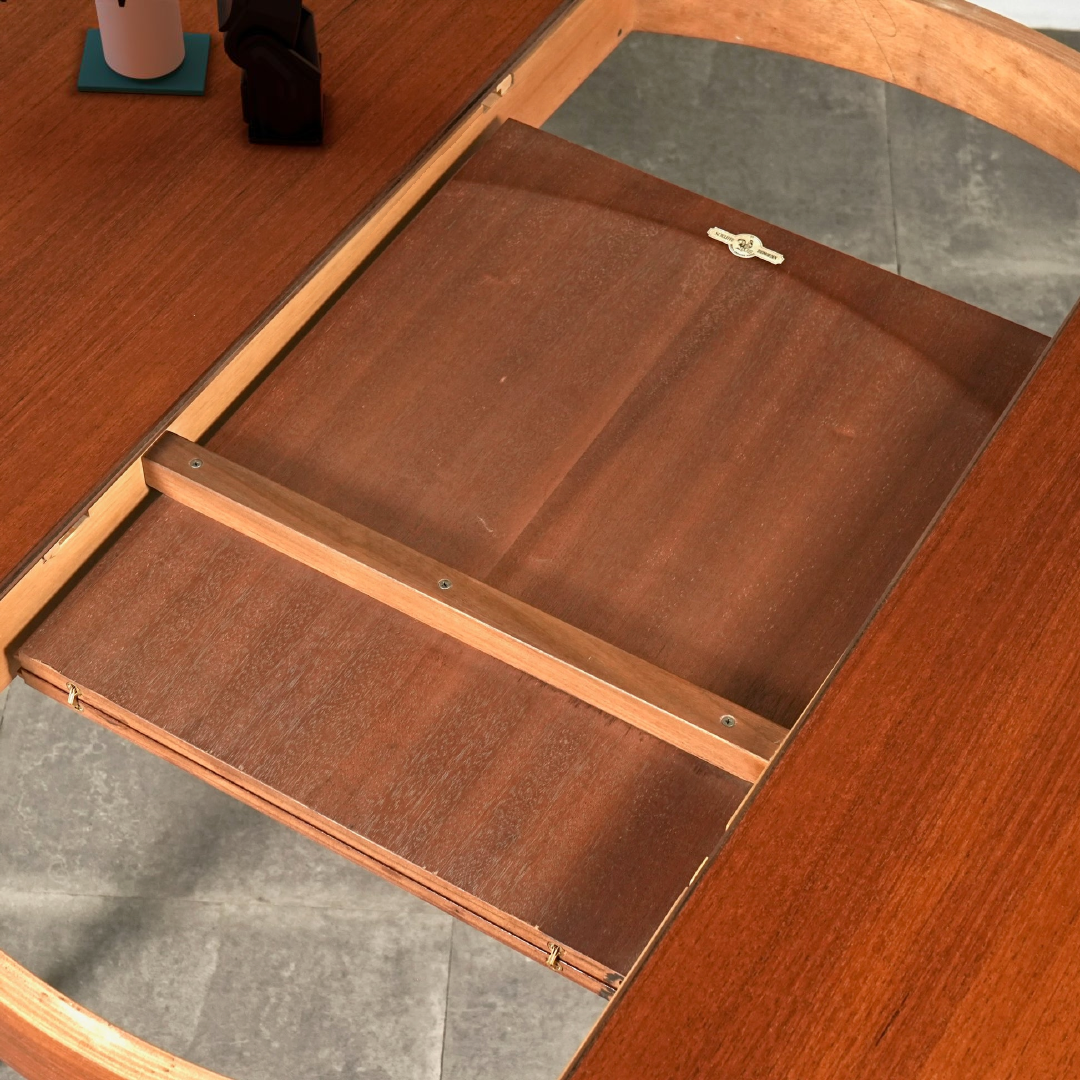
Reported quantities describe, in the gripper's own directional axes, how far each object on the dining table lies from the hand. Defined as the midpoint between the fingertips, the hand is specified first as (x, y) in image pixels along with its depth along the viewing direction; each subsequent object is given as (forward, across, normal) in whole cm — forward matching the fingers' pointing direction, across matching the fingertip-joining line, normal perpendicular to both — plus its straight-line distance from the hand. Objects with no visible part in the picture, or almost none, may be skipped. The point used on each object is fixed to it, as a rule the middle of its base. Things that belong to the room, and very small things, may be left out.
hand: (63, 1), depth 127 cm
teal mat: (+13, +4, +9) cm, 16 cm away
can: (+13, +4, +9) cm, 16 cm away
